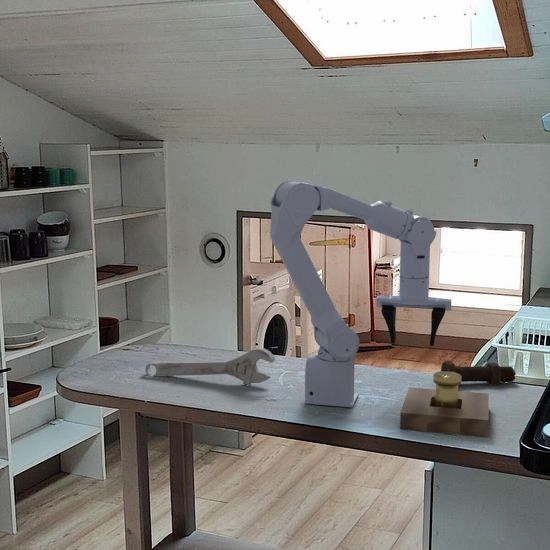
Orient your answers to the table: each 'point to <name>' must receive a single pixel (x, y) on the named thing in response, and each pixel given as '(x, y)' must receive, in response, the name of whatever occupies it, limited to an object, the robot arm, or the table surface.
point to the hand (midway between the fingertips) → (412, 343)
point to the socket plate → (445, 413)
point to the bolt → (481, 372)
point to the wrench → (218, 367)
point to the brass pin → (446, 389)
